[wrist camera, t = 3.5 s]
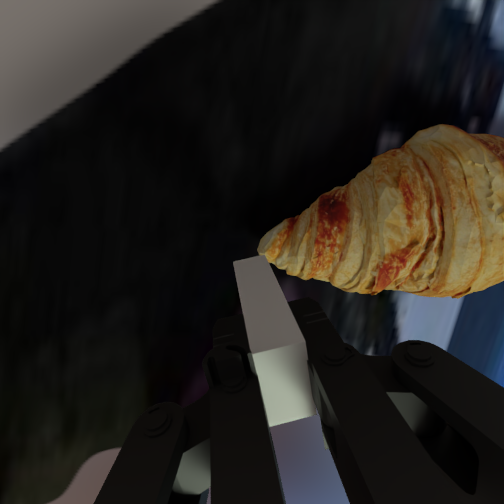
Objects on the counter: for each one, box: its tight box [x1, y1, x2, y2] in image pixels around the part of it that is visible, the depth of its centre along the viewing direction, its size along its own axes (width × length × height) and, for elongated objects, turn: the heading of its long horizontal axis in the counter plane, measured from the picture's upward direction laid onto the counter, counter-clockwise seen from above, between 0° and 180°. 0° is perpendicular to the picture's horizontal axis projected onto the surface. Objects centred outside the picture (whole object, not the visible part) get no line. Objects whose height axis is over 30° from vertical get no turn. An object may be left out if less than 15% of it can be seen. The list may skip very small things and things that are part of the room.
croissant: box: [257, 124, 504, 299], centre depth 19 cm, size 21×10×8 cm, turn 102°
